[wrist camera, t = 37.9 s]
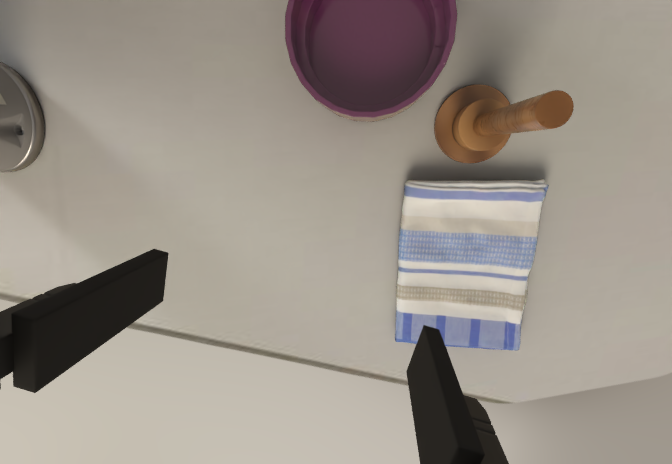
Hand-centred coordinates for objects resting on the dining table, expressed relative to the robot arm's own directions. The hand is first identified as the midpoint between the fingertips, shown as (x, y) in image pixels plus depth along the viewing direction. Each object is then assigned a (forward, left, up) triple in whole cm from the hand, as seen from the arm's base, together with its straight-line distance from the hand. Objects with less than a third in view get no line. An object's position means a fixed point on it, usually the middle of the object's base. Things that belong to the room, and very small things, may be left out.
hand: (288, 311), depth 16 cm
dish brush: (+19, +2, -28) cm, 34 cm away
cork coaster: (+19, +2, -29) cm, 34 cm away
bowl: (+12, +16, -29) cm, 35 cm away
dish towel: (+11, -14, -29) cm, 34 cm away
